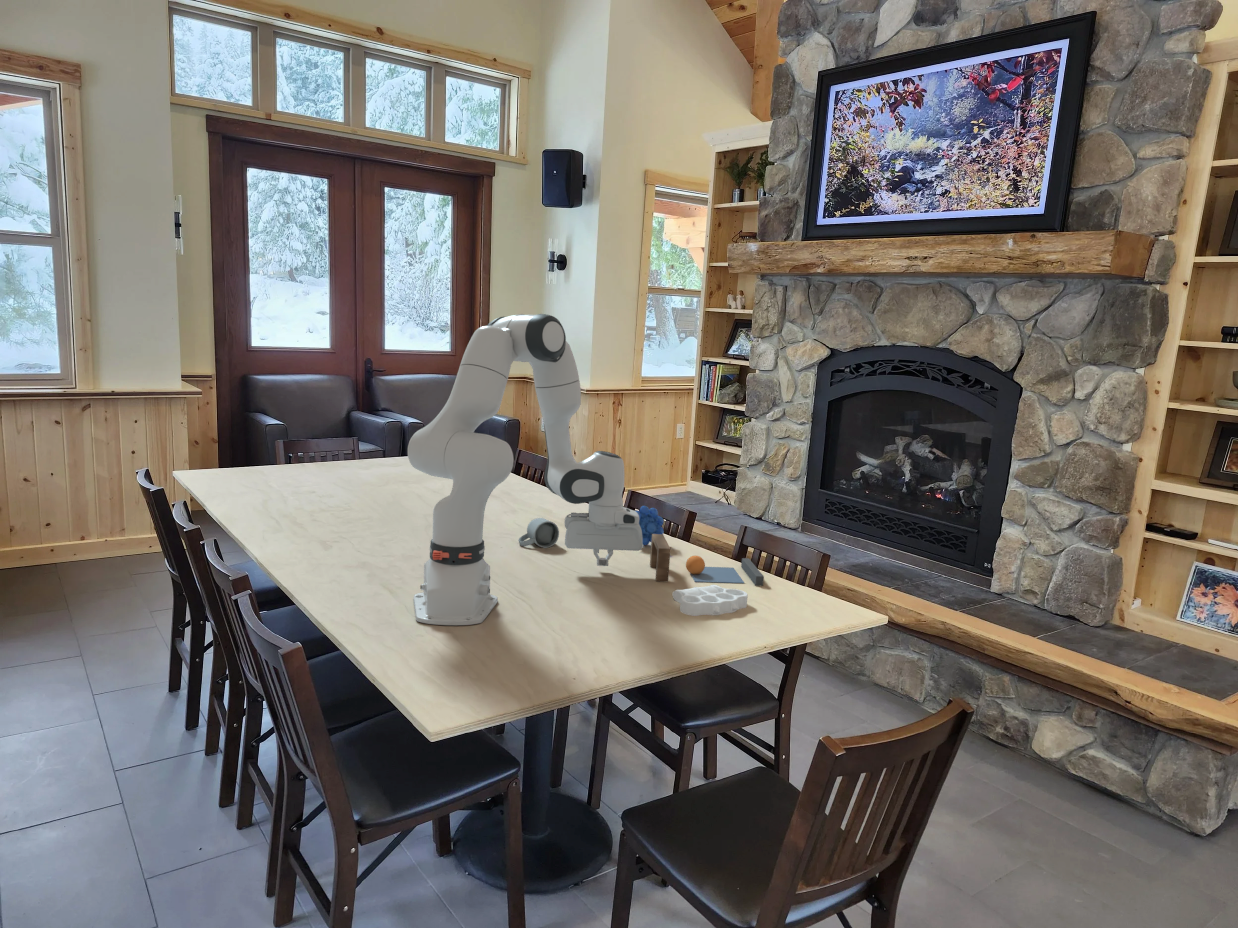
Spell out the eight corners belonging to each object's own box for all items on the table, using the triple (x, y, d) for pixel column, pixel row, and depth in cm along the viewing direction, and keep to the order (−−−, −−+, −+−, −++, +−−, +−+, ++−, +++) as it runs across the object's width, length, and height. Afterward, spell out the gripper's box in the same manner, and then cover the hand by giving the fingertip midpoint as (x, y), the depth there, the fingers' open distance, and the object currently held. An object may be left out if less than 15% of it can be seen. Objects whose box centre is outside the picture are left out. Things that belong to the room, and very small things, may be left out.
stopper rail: (762, 585, 215) (763, 576, 214) (755, 585, 214) (756, 576, 214) (748, 567, 230) (749, 558, 230) (741, 566, 230) (741, 558, 230)
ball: (704, 557, 218) (685, 560, 217) (707, 575, 219) (688, 578, 219) (701, 551, 222) (683, 554, 222) (704, 568, 224) (686, 572, 223)
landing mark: (744, 583, 216) (744, 582, 216) (694, 581, 214) (694, 581, 214) (733, 568, 228) (733, 567, 228) (686, 566, 227) (686, 565, 227)
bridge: (660, 565, 227) (662, 534, 225) (668, 581, 213) (670, 548, 212) (649, 564, 227) (651, 533, 225) (656, 581, 213) (658, 548, 211)
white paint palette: (720, 593, 208) (759, 612, 196) (660, 602, 199) (697, 623, 187) (721, 580, 208) (760, 598, 195) (661, 588, 198) (698, 608, 186)
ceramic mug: (548, 539, 246) (548, 514, 245) (559, 546, 239) (559, 520, 238) (514, 542, 241) (514, 516, 240) (524, 550, 234) (524, 523, 233)
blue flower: (635, 550, 240) (637, 509, 238) (624, 544, 246) (626, 504, 244) (669, 547, 245) (672, 507, 243) (658, 541, 251) (661, 502, 249)
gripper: (565, 515, 212) (562, 567, 214) (645, 518, 214) (641, 570, 216) (564, 509, 218) (562, 560, 220) (642, 512, 220) (639, 562, 222)
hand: (602, 565), depth 218 cm, fingers closed
